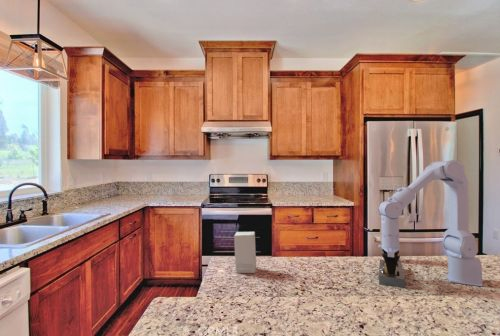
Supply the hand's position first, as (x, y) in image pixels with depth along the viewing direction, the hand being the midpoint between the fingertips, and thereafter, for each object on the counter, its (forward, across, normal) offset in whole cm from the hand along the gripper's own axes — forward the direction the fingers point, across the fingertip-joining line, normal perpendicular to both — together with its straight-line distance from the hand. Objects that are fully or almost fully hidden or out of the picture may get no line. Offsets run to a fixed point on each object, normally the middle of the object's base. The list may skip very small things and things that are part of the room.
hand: (391, 271), depth 98 cm
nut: (+4, 0, 0) cm, 4 cm away
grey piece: (+3, -5, 0) cm, 6 cm away
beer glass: (+4, -26, 0) cm, 26 cm away
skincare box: (+4, +13, -54) cm, 55 cm away
